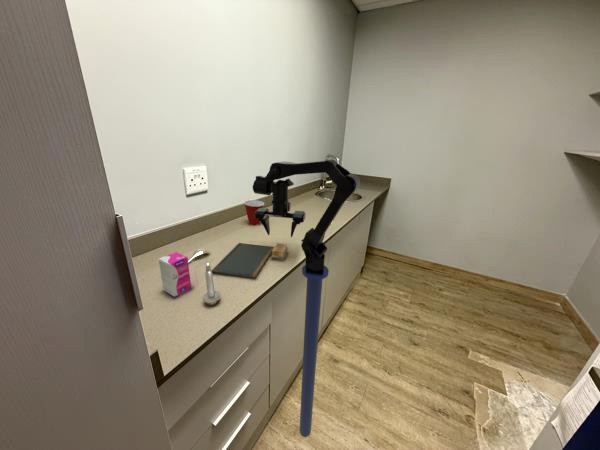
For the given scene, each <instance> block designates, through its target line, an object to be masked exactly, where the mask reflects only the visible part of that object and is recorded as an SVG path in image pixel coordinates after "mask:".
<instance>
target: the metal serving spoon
mask: <svg viewBox="0 0 600 450" xmlns="http://www.w3.org/2000/svg"><path fill="white" fill-rule="evenodd" d="M205 254H208V255H209V254H210V252H209V251H208V250H206V249H203V248H198V249H196V250H195V251H194V253H193V254H192V256H191V257H190V258H188V263H190V262H191V261H192V260H193V259H194V258H196V257H198V256H202V255H205Z"/></svg>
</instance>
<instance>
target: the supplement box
mask: <svg viewBox="0 0 600 450" xmlns="http://www.w3.org/2000/svg"><path fill="white" fill-rule="evenodd" d="M188 260H189V257H188V256H186V255H185V254H184V255H183V254H182V253H180V252H177V251H175V252H173V253H169V254H167V255H165V256H162V257H160V258H158V266H159V271H160V277H161V283H162V288H163V292H164V293H166V294H167V295H169V296H171V297H172V298H174V299H175V298H177V297H179V296H180V295H182V294H184V293H186V292H187V291H190V290H191V289H192V283H191V274H190V266H189V262H188Z"/></svg>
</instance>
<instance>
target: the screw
mask: <svg viewBox="0 0 600 450" xmlns="http://www.w3.org/2000/svg"><path fill="white" fill-rule="evenodd" d="M212 270H213V269H212V268H211V265H210V262H206V263H205V272H204V273H205V274H204V275H205V284H206V290H207V292H205V293H204V294H203V296H202V297H201V299H202V301H203V302H204V303H206V304H207V305H209V306H213V305H215V304H217V302H218V300H219V299H220V298H221V293H220V292H219V291H217V290H216V291H215V286H214V285H215V284H214V277H213V275H214V274H212Z"/></svg>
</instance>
